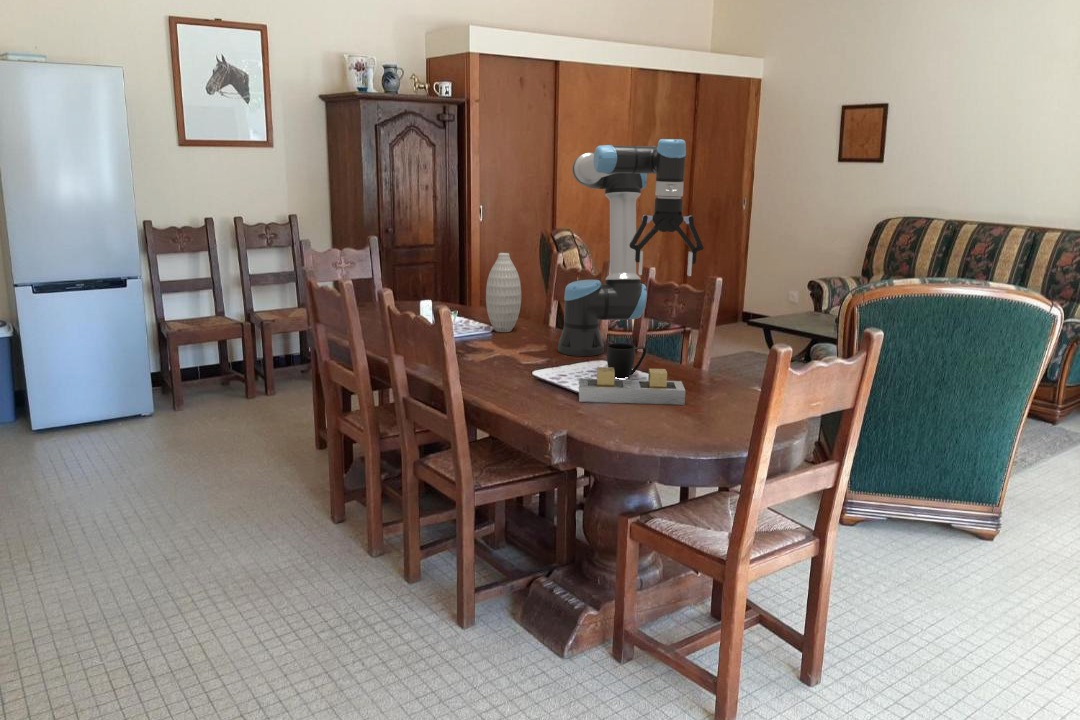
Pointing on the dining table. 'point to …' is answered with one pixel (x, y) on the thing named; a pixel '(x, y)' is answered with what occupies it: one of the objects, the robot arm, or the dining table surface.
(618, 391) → the rail
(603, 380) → the tan wooden brick
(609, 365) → the mug
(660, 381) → the yellow rectangular block
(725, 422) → the dining table surface
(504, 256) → the vase
